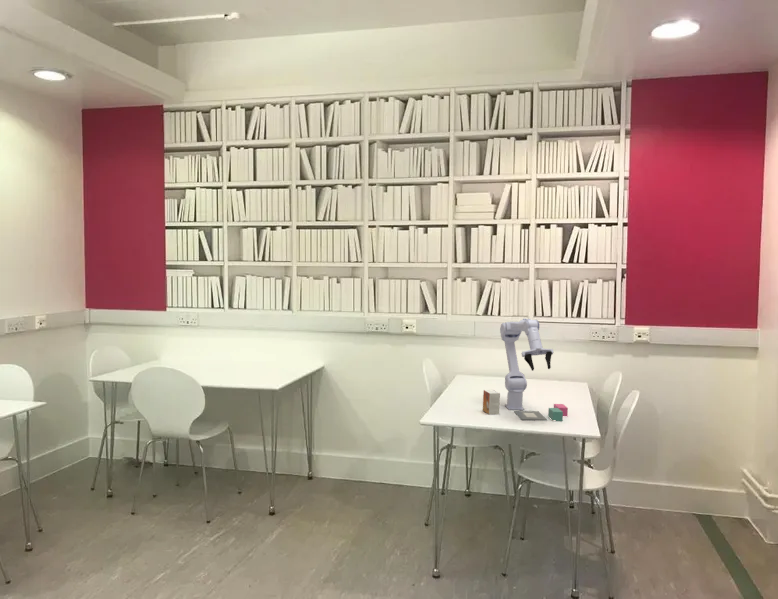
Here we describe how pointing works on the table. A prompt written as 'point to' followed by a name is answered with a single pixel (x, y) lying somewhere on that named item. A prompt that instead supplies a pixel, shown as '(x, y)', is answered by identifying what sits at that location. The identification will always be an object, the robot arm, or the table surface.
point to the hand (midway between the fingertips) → (541, 368)
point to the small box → (491, 401)
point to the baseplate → (530, 415)
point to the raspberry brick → (562, 408)
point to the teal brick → (555, 414)
